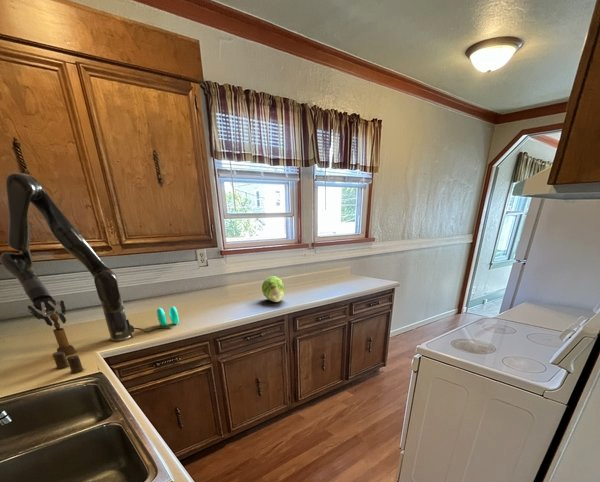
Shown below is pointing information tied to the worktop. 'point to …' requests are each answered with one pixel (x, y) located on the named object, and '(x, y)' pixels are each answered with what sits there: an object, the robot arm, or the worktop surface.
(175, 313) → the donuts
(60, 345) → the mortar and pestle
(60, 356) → the middle peg
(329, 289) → the worktop surface
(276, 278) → the lettuce
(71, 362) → the far peg
